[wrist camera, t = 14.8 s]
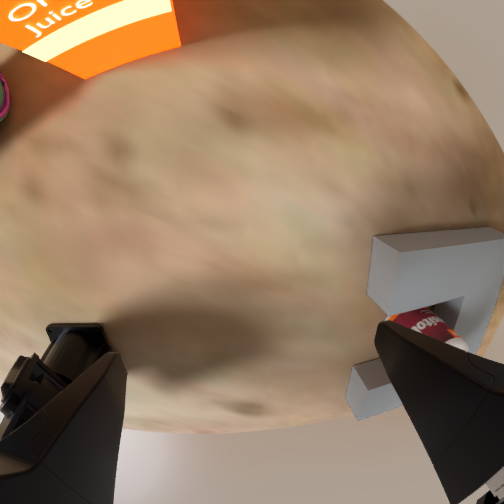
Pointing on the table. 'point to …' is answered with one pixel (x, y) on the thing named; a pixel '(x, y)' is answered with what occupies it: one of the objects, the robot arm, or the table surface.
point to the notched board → (429, 295)
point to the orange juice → (88, 31)
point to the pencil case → (4, 98)
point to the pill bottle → (429, 326)
